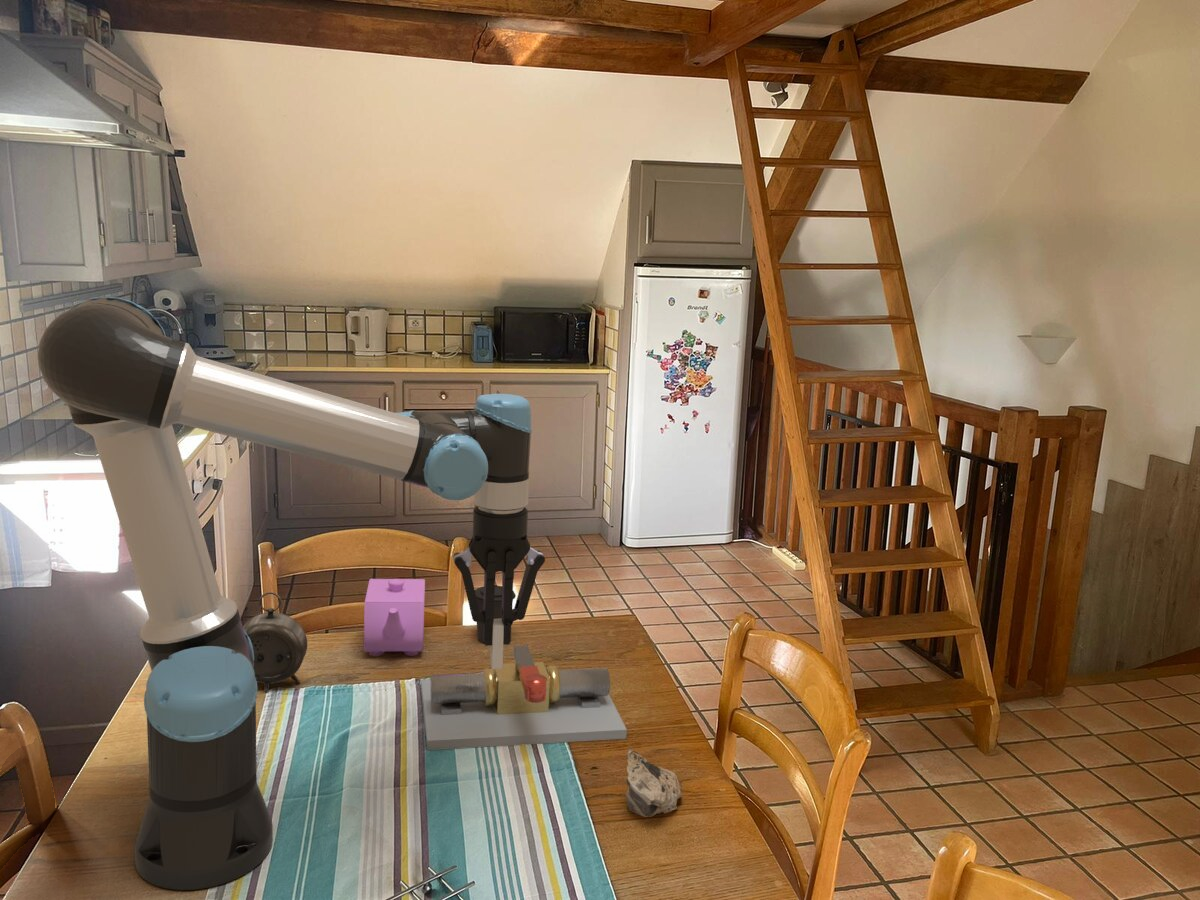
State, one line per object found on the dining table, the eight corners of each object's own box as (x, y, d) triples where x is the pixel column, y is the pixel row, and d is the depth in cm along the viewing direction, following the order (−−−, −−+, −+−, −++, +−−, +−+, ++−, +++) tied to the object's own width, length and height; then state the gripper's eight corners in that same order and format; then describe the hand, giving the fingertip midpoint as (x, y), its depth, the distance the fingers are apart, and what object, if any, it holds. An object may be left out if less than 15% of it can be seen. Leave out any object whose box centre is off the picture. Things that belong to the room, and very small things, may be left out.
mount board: (626, 738, 146) (626, 729, 146) (427, 750, 139) (427, 740, 139) (597, 680, 165) (597, 672, 165) (420, 688, 158) (421, 679, 158)
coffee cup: (497, 627, 185) (500, 578, 183) (522, 642, 179) (524, 591, 177) (462, 636, 180) (463, 586, 178) (486, 651, 174) (488, 599, 172)
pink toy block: (369, 627, 181) (370, 564, 179) (423, 627, 183) (425, 565, 180) (361, 674, 162) (362, 604, 159) (421, 673, 164) (423, 604, 161)
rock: (624, 766, 136) (606, 752, 127) (671, 750, 135) (657, 735, 126) (641, 829, 131) (624, 820, 122) (690, 813, 130) (677, 802, 122)
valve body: (610, 708, 152) (612, 673, 151) (431, 717, 145) (432, 681, 144) (601, 690, 158) (603, 656, 157) (429, 698, 152) (430, 663, 150)
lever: (510, 665, 152) (511, 637, 151) (529, 664, 153) (530, 636, 152) (525, 714, 136) (527, 683, 135) (546, 713, 137) (548, 682, 136)
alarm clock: (307, 679, 159) (308, 587, 155) (301, 694, 153) (301, 599, 150) (239, 678, 157) (238, 585, 154) (230, 693, 152) (229, 597, 149)
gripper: (542, 498, 137) (536, 651, 142) (451, 499, 134) (448, 656, 139) (551, 513, 130) (545, 674, 135) (455, 514, 127) (452, 679, 132)
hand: (496, 664), depth 137 cm, fingers closed
